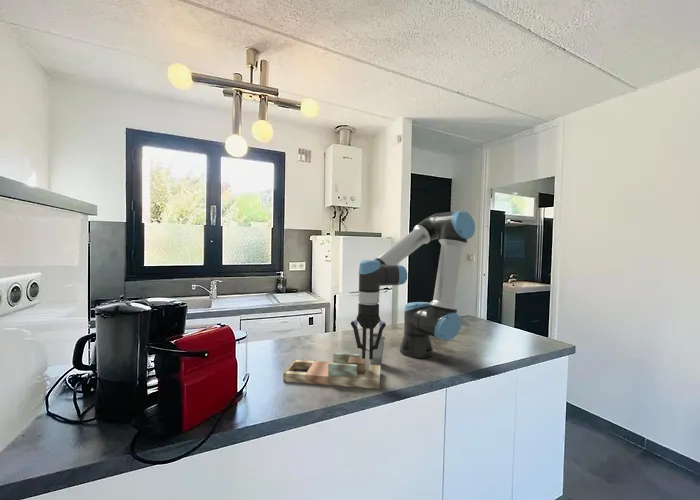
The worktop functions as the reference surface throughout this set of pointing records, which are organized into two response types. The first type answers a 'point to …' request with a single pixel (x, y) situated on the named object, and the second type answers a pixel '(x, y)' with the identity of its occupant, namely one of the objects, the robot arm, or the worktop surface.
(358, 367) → the block
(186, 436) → the worktop surface
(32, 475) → the worktop surface
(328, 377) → the compartment tray
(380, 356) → the cup
